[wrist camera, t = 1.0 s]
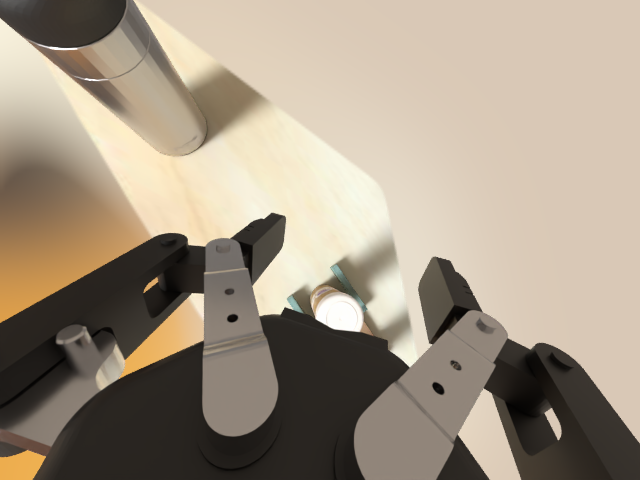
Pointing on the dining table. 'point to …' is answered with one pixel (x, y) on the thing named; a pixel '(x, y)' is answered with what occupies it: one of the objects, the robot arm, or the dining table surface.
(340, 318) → the sprinkles bottle
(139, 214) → the dining table surface
